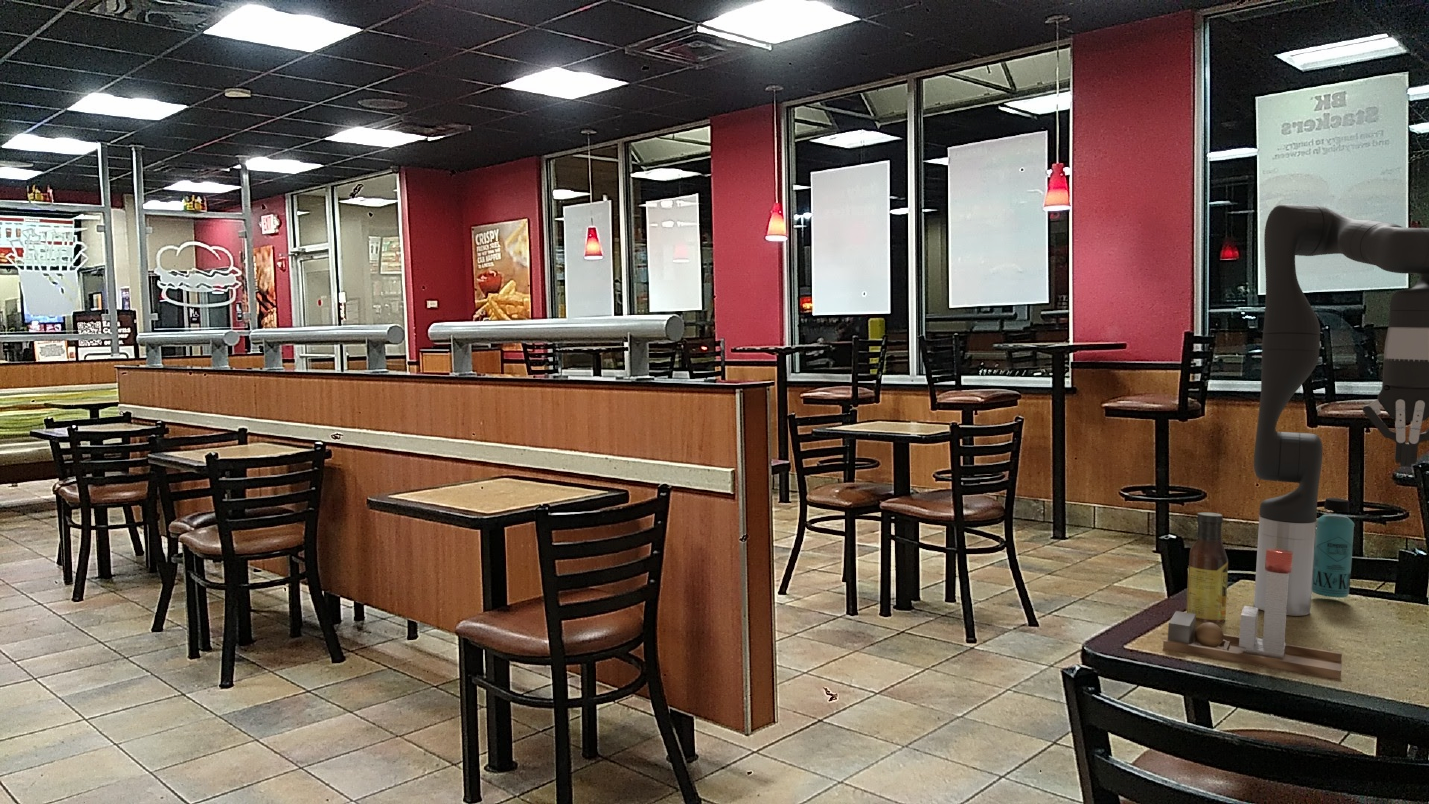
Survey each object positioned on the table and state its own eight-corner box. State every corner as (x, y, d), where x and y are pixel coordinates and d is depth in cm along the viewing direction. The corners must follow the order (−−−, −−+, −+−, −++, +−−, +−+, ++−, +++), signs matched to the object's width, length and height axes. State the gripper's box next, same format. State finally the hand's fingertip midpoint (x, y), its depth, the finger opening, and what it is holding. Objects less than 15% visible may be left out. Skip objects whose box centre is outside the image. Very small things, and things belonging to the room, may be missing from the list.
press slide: (1287, 652, 158) (1293, 548, 157) (1284, 664, 152) (1291, 557, 151) (1242, 644, 162) (1248, 543, 160) (1238, 656, 156) (1244, 551, 154)
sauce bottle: (1229, 632, 174) (1236, 518, 172) (1190, 629, 175) (1197, 516, 173) (1218, 621, 180) (1225, 511, 179) (1181, 618, 181) (1187, 509, 180)
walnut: (1191, 642, 163) (1192, 618, 163) (1217, 643, 163) (1218, 619, 162) (1200, 650, 159) (1201, 625, 159) (1226, 652, 159) (1228, 627, 158)
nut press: (1340, 669, 156) (1342, 634, 155) (1339, 689, 147) (1342, 652, 147) (1171, 641, 168) (1173, 609, 168) (1162, 657, 160) (1164, 624, 160)
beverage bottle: (1303, 595, 198) (1309, 495, 196) (1337, 596, 198) (1344, 495, 196) (1321, 605, 192) (1328, 501, 190) (1357, 606, 191) (1364, 502, 190)
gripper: (1463, 357, 157) (1454, 467, 159) (1362, 354, 164) (1355, 460, 166) (1467, 359, 151) (1458, 473, 153) (1363, 356, 158) (1355, 465, 160)
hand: (1404, 466), depth 159 cm, fingers closed
